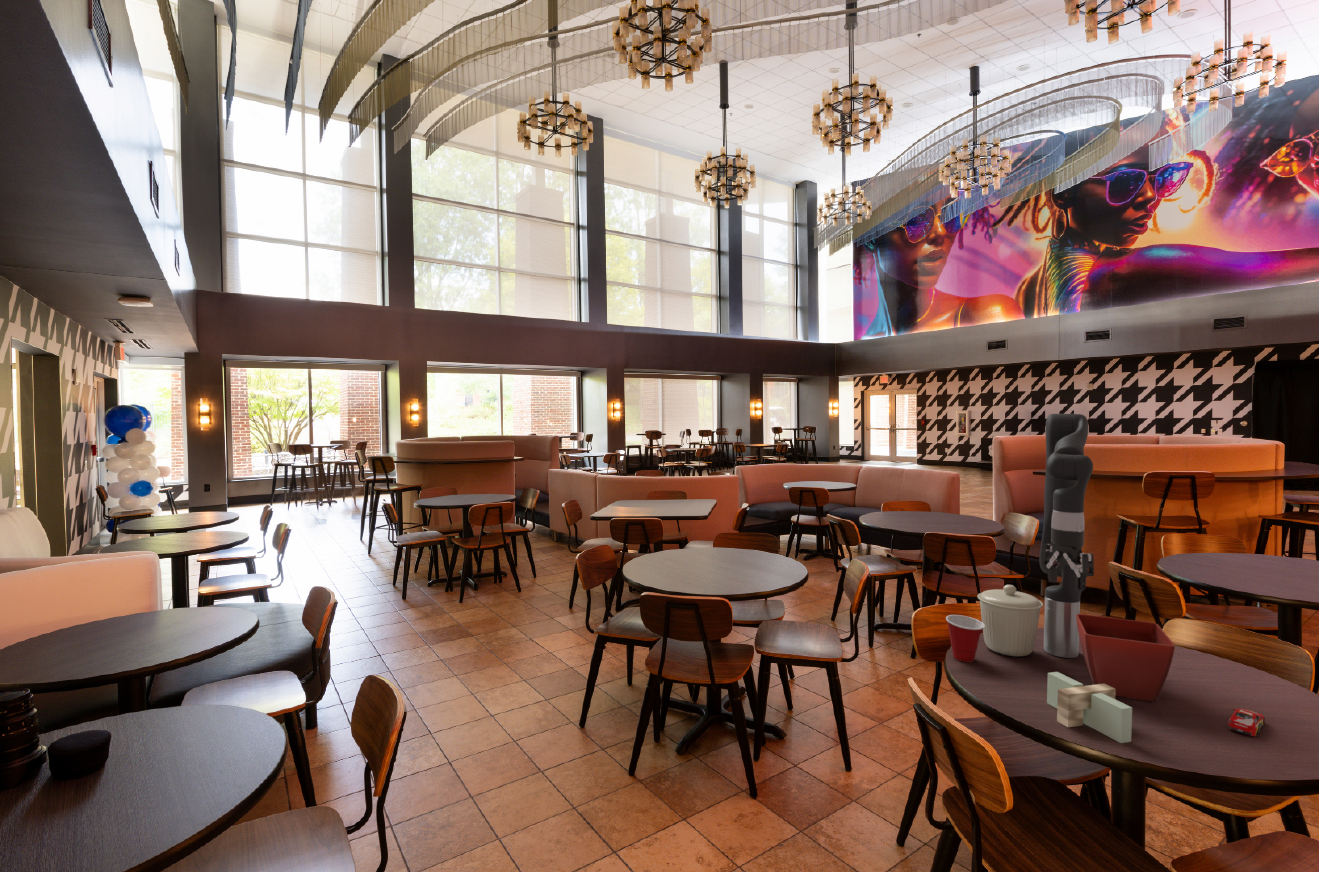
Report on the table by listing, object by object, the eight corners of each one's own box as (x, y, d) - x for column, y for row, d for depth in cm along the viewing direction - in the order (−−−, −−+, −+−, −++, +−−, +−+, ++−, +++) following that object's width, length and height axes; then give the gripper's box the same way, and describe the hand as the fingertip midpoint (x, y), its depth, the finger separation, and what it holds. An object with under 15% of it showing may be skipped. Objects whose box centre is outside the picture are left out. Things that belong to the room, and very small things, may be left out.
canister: (1030, 667, 183) (1032, 597, 182) (967, 649, 196) (968, 584, 195) (1049, 651, 195) (1051, 585, 194) (988, 636, 208) (990, 574, 207)
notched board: (1046, 703, 160) (1047, 672, 160) (1056, 701, 161) (1057, 671, 160) (1120, 743, 140) (1121, 709, 140) (1131, 741, 141) (1132, 707, 141)
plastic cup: (978, 669, 181) (979, 629, 181) (940, 659, 189) (940, 620, 188) (988, 658, 189) (989, 619, 189) (951, 649, 196) (952, 612, 196)
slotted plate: (1103, 715, 154) (1104, 683, 153) (1114, 720, 151) (1115, 688, 150) (1056, 721, 150) (1057, 689, 150) (1067, 727, 148) (1068, 694, 147)
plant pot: (1083, 695, 164) (1084, 633, 164) (1073, 669, 181) (1075, 612, 181) (1174, 711, 155) (1176, 646, 155) (1155, 682, 172) (1157, 623, 172)
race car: (1237, 715, 154) (1237, 699, 154) (1267, 724, 150) (1267, 707, 150) (1223, 730, 147) (1224, 714, 146) (1255, 740, 142) (1255, 723, 142)
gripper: (1034, 523, 174) (1033, 580, 174) (1079, 533, 160) (1078, 594, 160) (1056, 522, 175) (1055, 578, 176) (1103, 531, 162) (1101, 592, 162)
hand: (1066, 586), depth 168 cm, fingers open, 8 cm apart
